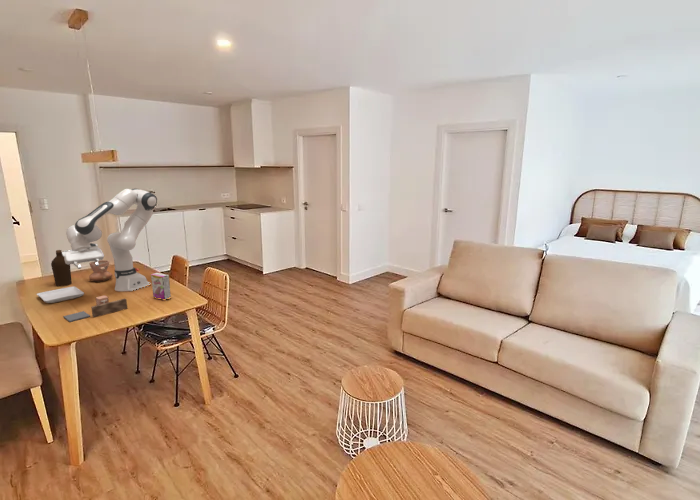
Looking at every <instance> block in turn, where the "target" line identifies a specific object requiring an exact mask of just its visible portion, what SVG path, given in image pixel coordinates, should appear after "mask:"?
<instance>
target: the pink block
mask: <svg viewBox="0 0 700 500" xmlns="http://www.w3.org/2000/svg"><path fill="white" fill-rule="evenodd" d="M109 302H110V300H109V297H108V296H107V295H105V294H104V295H101V296H100V295H99V296H97V297H95V303H96V305H100V304H104V303H109ZM96 305H95V306H96Z"/></svg>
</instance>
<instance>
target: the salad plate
mask: <svg viewBox="0 0 700 500" xmlns="http://www.w3.org/2000/svg"><path fill="white" fill-rule="evenodd" d="M84 295H85V292H84V291H83V290H81V289H79V288H78V287H77V286H74V285H73V286H67V287H62V288H57V289H53V290H46V291H43V292H38V293H36V296H37V297H38V298H41V300H43V302H44V303H47V304H54V303H58V302H63V301H64V302H65V301H68V300H73V299H77V298H80V297H82V296H84Z"/></svg>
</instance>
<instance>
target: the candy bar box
mask: <svg viewBox="0 0 700 500" xmlns="http://www.w3.org/2000/svg"><path fill="white" fill-rule="evenodd" d="M150 278H151V280H150V281H151V288H152V297H156V298H161V299H167V298H169V297H171V298H172V295H171V285H170V275H169V274H164V273H159V272H155V273H152V274H150ZM156 298H155V299H156Z"/></svg>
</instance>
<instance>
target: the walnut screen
mask: <svg viewBox="0 0 700 500" xmlns="http://www.w3.org/2000/svg"><path fill="white" fill-rule="evenodd" d="M123 309H124V310H127V309H128V303H127V299H126V298H121V299H117V300H113V301H109V303H104V304H100V305H94V306H91V314H92V315H91V316H92V317H93V318H98V317H101V316H105V315H108V314H112V313H115V312H116V313H117V312H119V311H124V310H123Z"/></svg>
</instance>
